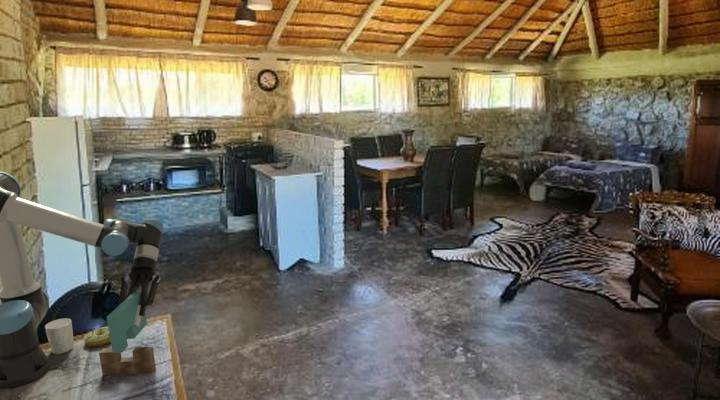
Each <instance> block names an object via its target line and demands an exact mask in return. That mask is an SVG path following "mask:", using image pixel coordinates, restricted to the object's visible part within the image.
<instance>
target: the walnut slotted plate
mask: <svg viewBox="0 0 720 400" xmlns="http://www.w3.org/2000/svg"><path fill="white" fill-rule="evenodd" d="M131 353H132V356H131V357H130V356H129V357H128V356H127V357H126V356H125V357H123V356H122V352H121V353H112V347H110V348H109V347H108V348H107V347H106V348H101V350H100V351H98V356H99V361H100V368H101V374H102V376H115V375H116V376H117V375H140V374H141V375H142V374H154V372H155V371H156V369H157V366H156V360H155V352H154V347H153V346H137V347H136V346H135V348H133V350H132V352H131Z"/></svg>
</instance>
